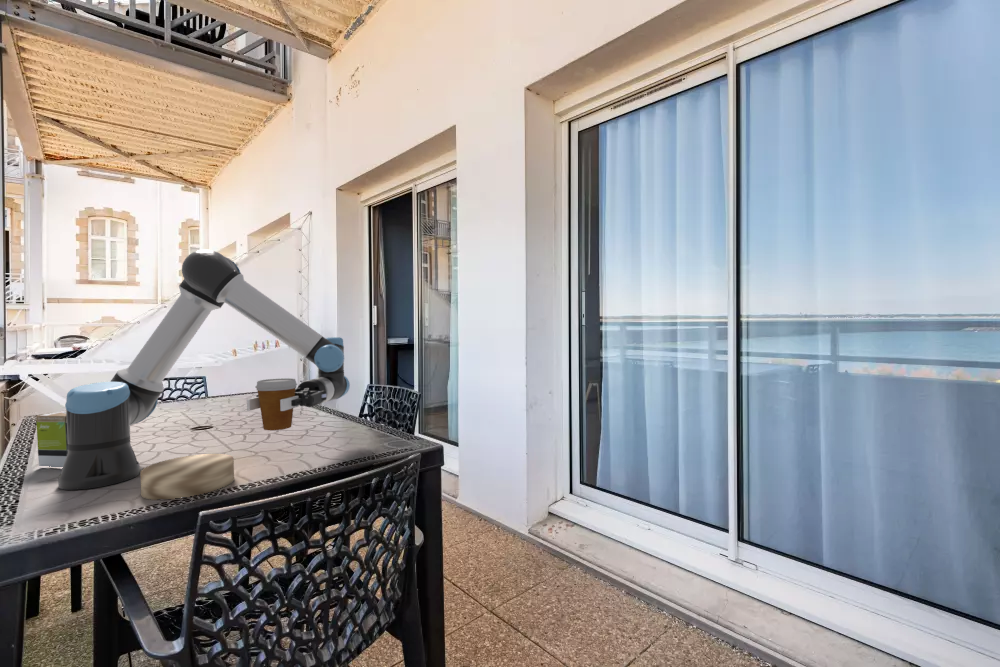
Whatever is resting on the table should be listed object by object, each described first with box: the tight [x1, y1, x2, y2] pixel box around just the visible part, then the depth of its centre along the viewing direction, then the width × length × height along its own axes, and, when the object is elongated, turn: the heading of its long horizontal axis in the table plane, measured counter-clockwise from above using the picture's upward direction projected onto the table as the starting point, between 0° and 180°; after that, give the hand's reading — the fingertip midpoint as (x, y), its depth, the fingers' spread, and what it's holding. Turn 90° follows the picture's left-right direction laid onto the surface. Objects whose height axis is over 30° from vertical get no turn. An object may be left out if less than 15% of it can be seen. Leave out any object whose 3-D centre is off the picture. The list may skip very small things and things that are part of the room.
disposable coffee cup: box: [255, 377, 298, 431], centre depth 115 cm, size 10×10×12 cm
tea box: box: [35, 409, 68, 467], centre depth 130 cm, size 15×10×15 cm
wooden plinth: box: [139, 453, 235, 501], centre depth 107 cm, size 18×18×5 cm
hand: (265, 405), depth 110 cm, fingers closed on disposable coffee cup, 8 cm apart
